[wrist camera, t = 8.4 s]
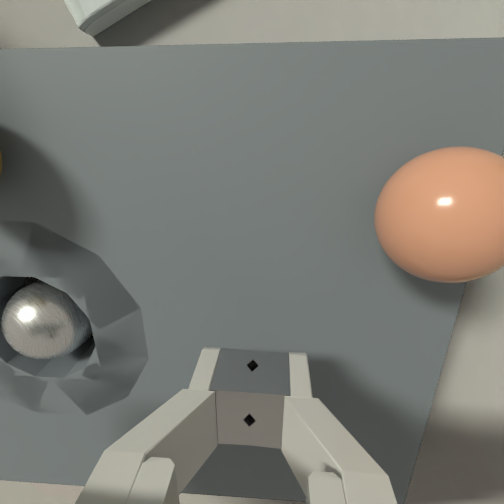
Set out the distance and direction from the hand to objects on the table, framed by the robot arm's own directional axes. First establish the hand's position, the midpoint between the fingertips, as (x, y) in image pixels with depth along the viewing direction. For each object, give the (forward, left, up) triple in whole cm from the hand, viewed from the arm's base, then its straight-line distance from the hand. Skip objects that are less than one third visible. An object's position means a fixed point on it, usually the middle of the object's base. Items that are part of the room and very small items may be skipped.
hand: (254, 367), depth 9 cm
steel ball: (+8, +1, -3) cm, 9 cm away
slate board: (+3, 0, -4) cm, 6 cm away
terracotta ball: (-5, -5, 0) cm, 6 cm away
